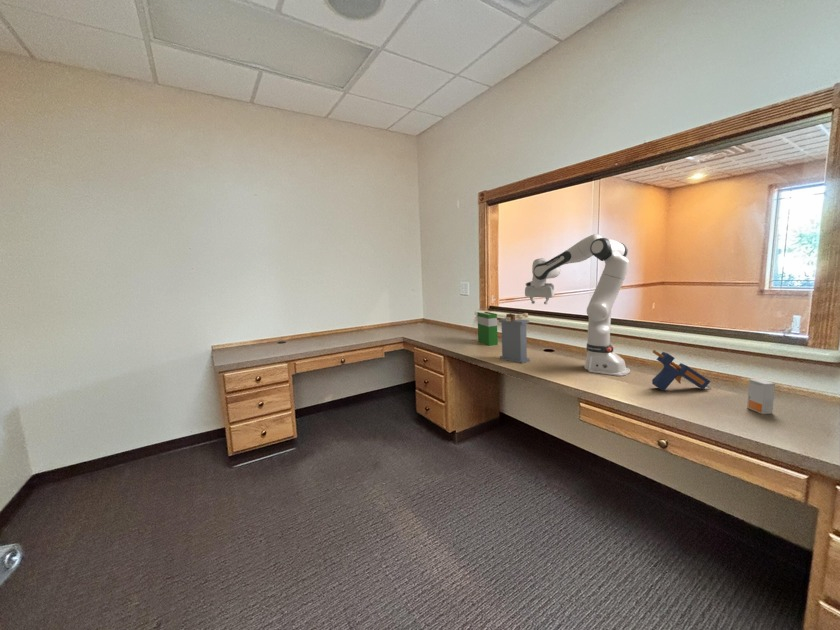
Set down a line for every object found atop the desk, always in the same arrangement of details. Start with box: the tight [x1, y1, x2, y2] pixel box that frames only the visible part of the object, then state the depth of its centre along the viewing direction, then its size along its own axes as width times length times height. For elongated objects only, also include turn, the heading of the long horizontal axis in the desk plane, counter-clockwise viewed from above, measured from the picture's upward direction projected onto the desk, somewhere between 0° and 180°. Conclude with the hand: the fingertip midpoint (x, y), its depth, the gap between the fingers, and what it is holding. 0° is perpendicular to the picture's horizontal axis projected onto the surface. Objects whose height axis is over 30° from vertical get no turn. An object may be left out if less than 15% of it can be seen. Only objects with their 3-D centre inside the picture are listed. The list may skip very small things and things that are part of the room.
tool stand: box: [498, 317, 531, 364], centre depth 219 cm, size 17×8×26 cm, turn 39°
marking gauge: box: [505, 312, 529, 321], centre depth 219 cm, size 20×5×5 cm, turn 129°
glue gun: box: [651, 349, 712, 392], centre depth 157 cm, size 6×31×15 cm
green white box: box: [476, 311, 499, 347], centre depth 269 cm, size 18×7×24 cm, turn 18°
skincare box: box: [746, 377, 776, 415], centre depth 131 cm, size 6×4×12 cm
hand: (539, 303), depth 230 cm, fingers open, 8 cm apart
